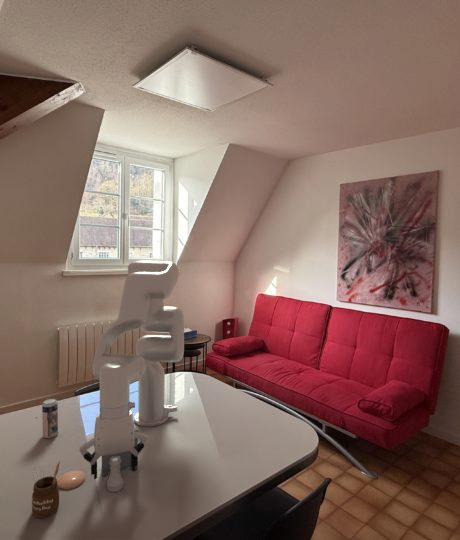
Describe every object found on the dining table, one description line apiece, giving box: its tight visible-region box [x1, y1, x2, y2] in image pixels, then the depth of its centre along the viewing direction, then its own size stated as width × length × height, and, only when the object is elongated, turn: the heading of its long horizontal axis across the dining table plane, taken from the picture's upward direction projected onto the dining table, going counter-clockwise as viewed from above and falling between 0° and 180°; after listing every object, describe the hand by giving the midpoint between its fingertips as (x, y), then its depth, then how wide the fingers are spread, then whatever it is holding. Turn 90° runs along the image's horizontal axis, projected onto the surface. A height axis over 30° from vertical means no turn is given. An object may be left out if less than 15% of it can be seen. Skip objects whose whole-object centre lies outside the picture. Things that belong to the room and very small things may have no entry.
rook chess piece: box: [106, 456, 125, 493], centre depth 98 cm, size 4×4×8 cm
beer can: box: [41, 398, 59, 439], centre depth 123 cm, size 5×5×12 cm
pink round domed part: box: [57, 470, 86, 490], centre depth 100 cm, size 7×7×1 cm
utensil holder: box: [31, 461, 61, 519], centre depth 89 cm, size 6×6×12 cm
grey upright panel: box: [101, 427, 139, 478], centre depth 106 cm, size 10×5×11 cm, turn 112°
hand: (114, 472), depth 97 cm, fingers open, 9 cm apart
